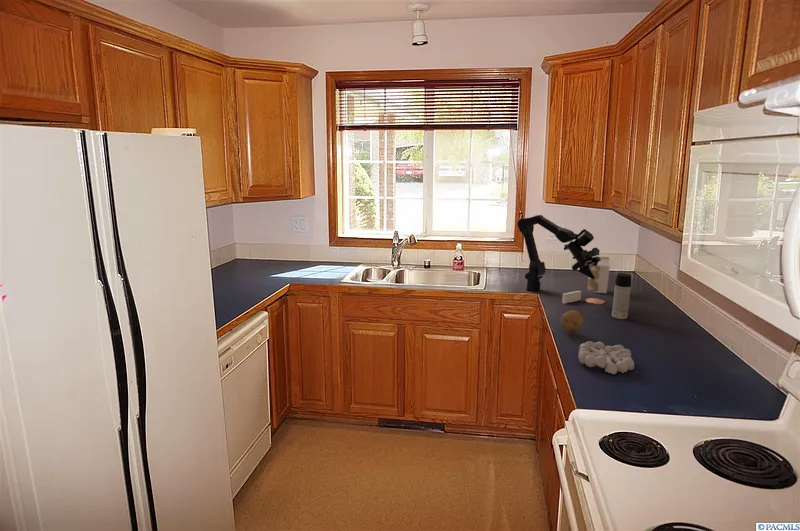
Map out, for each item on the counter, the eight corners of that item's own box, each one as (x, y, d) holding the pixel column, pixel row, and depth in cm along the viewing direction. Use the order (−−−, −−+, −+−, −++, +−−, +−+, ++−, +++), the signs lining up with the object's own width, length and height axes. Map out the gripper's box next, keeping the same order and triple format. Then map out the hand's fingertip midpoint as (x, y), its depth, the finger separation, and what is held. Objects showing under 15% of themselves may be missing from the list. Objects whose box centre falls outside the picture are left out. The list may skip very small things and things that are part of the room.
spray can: (627, 316, 244) (632, 273, 240) (626, 320, 238) (631, 276, 234) (612, 314, 247) (616, 272, 243) (611, 318, 241) (615, 275, 237)
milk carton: (606, 293, 283) (610, 258, 278) (592, 292, 284) (596, 257, 280) (604, 290, 289) (608, 255, 285) (590, 289, 291) (594, 255, 287)
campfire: (561, 353, 199) (563, 338, 197) (611, 350, 203) (613, 335, 202) (595, 379, 178) (597, 363, 176) (650, 374, 182) (652, 358, 181)
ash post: (588, 291, 260) (590, 267, 257) (586, 288, 264) (588, 265, 262) (599, 292, 259) (601, 267, 256) (596, 289, 264) (599, 265, 261)
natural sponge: (576, 339, 213) (578, 315, 211) (555, 334, 219) (557, 310, 217) (585, 334, 220) (588, 310, 218) (565, 328, 226) (567, 306, 224)
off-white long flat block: (564, 303, 263) (565, 294, 262) (561, 302, 264) (562, 293, 263) (580, 300, 269) (581, 291, 268) (577, 299, 271) (578, 290, 270)
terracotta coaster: (586, 303, 264) (586, 302, 264) (585, 298, 272) (585, 297, 272) (605, 305, 261) (605, 303, 261) (604, 300, 270) (604, 299, 270)
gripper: (579, 244, 253) (599, 271, 248) (599, 240, 266) (618, 265, 260) (563, 257, 261) (582, 284, 255) (583, 253, 273) (601, 278, 267)
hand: (596, 277), depth 259 cm, fingers closed on ash post, 5 cm apart
